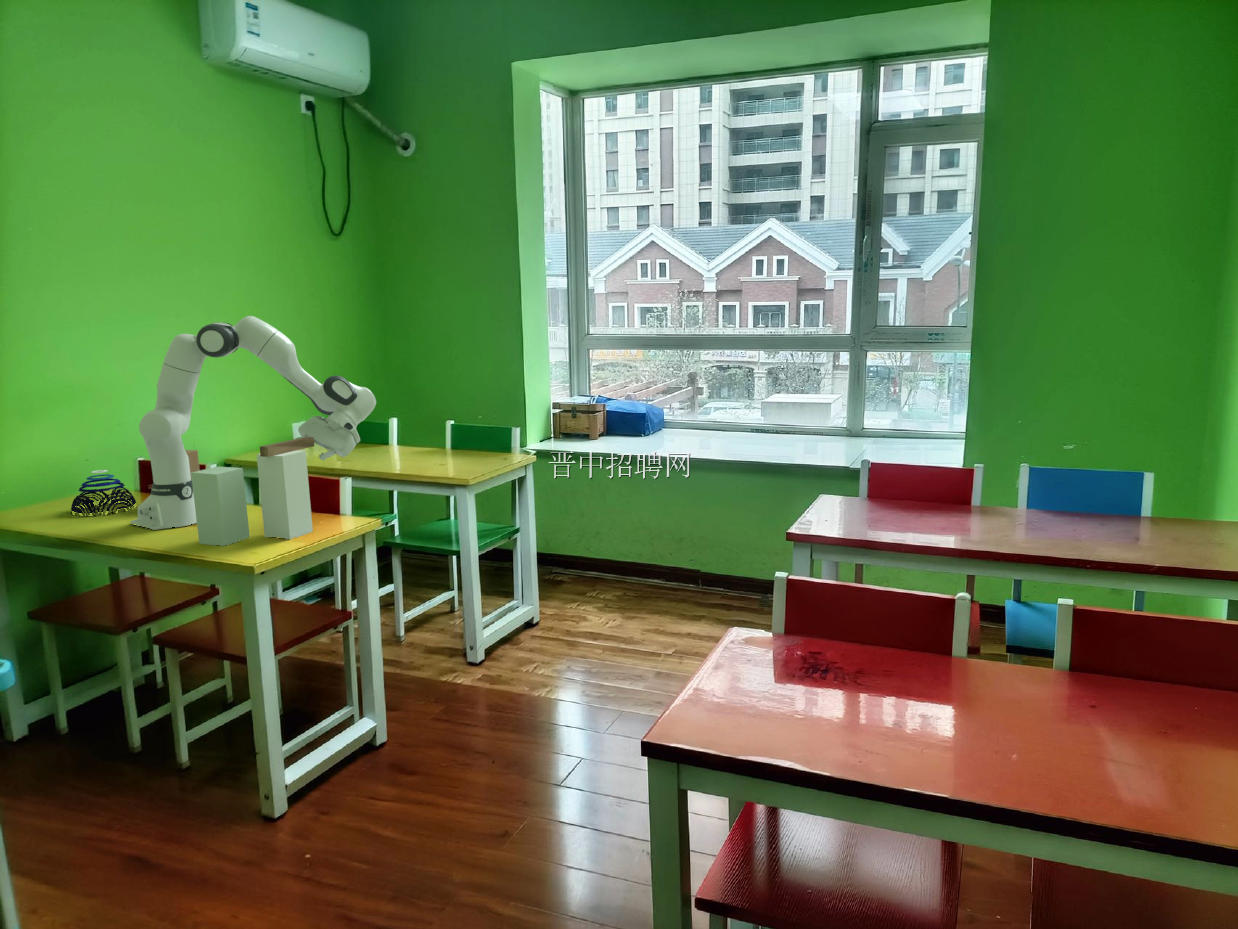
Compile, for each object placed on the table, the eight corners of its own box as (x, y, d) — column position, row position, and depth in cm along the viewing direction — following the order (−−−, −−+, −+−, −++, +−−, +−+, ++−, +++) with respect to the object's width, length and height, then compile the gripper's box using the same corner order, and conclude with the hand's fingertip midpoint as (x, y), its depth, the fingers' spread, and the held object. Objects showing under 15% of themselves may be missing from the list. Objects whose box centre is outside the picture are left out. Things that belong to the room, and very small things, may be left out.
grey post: (264, 537, 262) (256, 454, 257) (287, 529, 271) (280, 449, 266) (290, 539, 258) (282, 456, 253) (312, 531, 267) (305, 450, 263)
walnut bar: (260, 456, 254) (259, 446, 253) (306, 445, 272) (306, 436, 272) (268, 456, 253) (267, 446, 252) (314, 446, 271) (313, 437, 271)
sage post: (199, 543, 256) (191, 472, 252) (225, 535, 265) (217, 466, 261) (224, 546, 252) (216, 474, 248) (249, 537, 261) (242, 468, 257)
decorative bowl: (59, 514, 299) (53, 474, 296) (113, 502, 316) (108, 464, 313) (93, 519, 290) (88, 478, 287) (148, 506, 307) (143, 468, 305)
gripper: (313, 407, 284) (283, 435, 277) (359, 430, 277) (330, 458, 270) (318, 420, 289) (290, 447, 282) (364, 442, 282) (335, 470, 275)
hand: (310, 453), depth 276 cm, fingers open, 8 cm apart
